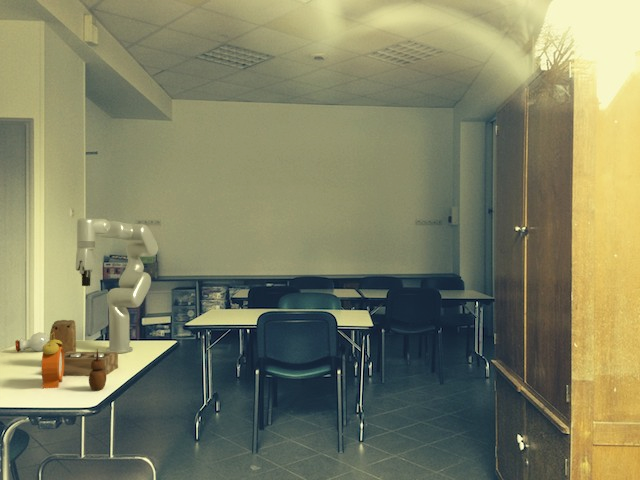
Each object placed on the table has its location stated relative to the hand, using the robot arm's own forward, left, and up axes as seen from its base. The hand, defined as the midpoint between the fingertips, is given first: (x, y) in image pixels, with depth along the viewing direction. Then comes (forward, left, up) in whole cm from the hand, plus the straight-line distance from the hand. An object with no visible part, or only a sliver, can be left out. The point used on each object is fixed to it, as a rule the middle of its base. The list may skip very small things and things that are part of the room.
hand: (86, 285), depth 248 cm
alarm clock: (+36, +3, -35) cm, 51 cm away
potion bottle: (-22, -36, -35) cm, 55 cm away
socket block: (+16, +7, -35) cm, 39 cm away
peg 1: (+17, +3, -34) cm, 38 cm away
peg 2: (+17, +13, -34) cm, 41 cm away
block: (+6, -8, -35) cm, 37 cm away
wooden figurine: (+42, +23, -35) cm, 59 cm away
